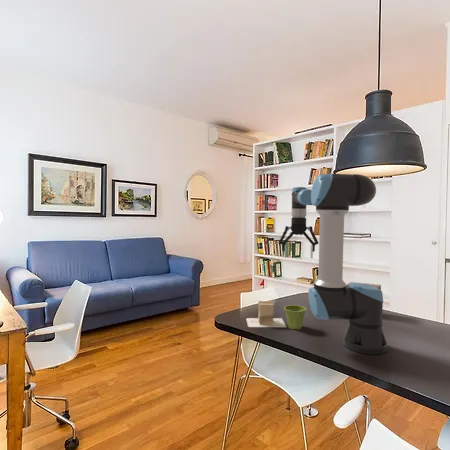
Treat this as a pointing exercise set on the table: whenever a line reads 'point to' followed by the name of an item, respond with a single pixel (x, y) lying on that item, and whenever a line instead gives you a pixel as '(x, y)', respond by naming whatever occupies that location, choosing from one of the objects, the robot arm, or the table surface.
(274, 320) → the letter
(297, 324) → the plant pot
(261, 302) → the oak block
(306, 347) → the table surface
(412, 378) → the table surface
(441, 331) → the table surface
